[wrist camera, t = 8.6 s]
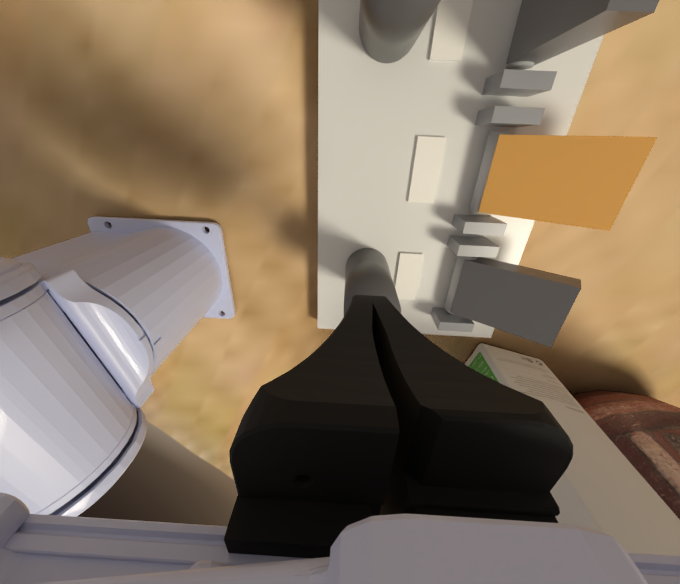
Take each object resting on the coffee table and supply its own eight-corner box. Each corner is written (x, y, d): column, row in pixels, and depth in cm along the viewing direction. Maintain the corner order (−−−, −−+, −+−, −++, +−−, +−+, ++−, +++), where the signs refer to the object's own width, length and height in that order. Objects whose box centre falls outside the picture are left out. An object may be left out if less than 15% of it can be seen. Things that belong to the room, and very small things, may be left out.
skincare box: (479, 339, 24) (657, 605, 10) (546, 358, 24) (797, 632, 11) (435, 402, 28) (518, 658, 14) (493, 417, 28) (629, 675, 14)
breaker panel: (319, 320, 23) (307, 384, 17) (321, -136, 12) (288, -451, 6) (484, 329, 23) (535, 398, 17) (644, -125, 12) (983, -440, 6)
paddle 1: (441, 310, 20) (550, 348, 16) (455, 255, 18) (582, 286, 14) (447, 303, 21) (551, 338, 17) (461, 250, 19) (581, 278, 15)
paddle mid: (467, 212, 17) (608, 232, 14) (487, 132, 15) (658, 134, 12) (471, 209, 18) (603, 227, 15) (490, 133, 16) (648, 136, 13)
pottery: (557, 344, 24) (970, 751, 8) (726, 389, 25) (1351, 802, 9) (459, 458, 32) (564, 767, 16) (591, 487, 34) (804, 793, 18)
